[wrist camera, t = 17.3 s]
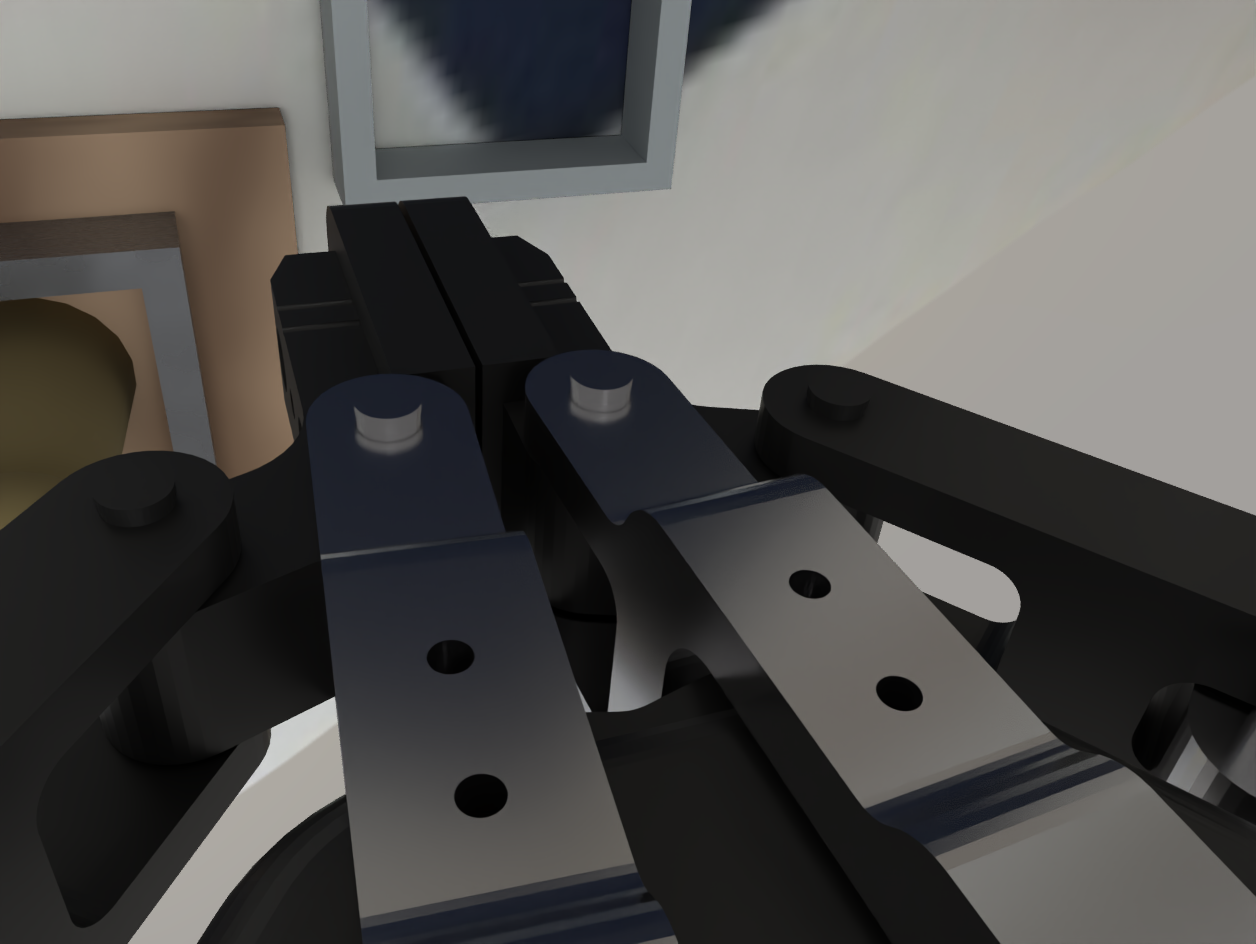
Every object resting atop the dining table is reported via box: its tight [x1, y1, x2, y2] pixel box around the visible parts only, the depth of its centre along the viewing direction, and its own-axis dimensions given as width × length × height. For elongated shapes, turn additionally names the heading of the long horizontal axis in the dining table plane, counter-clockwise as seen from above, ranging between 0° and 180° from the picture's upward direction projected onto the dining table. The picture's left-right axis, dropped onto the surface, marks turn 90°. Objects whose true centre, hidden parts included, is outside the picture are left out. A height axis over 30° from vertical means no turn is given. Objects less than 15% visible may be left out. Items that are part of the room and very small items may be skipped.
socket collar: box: [0, 211, 217, 466], centre depth 35 cm, size 11×11×2 cm
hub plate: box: [0, 108, 298, 479], centre depth 37 cm, size 18×16×2 cm
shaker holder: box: [320, 0, 692, 205], centre depth 35 cm, size 11×11×2 cm
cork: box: [0, 298, 137, 530], centre depth 32 cm, size 6×6×11 cm
